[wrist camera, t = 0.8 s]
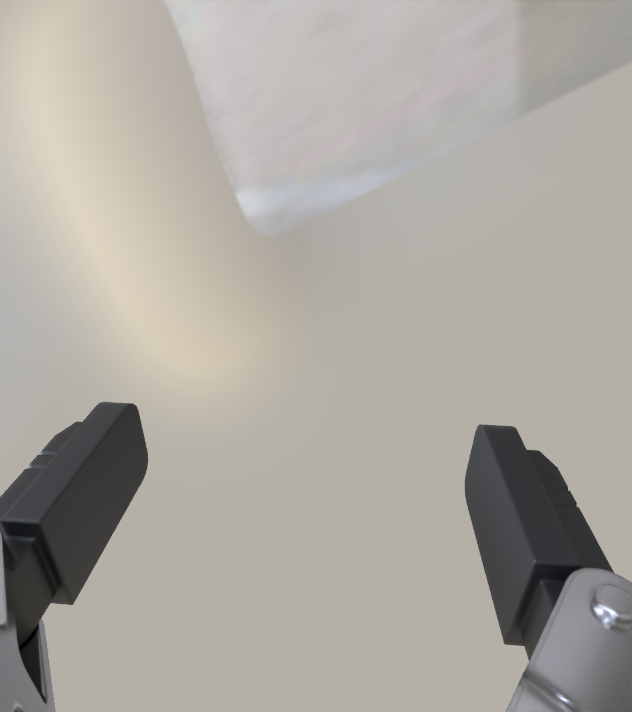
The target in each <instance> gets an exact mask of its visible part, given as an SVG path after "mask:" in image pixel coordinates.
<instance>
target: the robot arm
mask: <svg viewBox="0 0 632 712" xmlns="http://www.w3.org/2000/svg"><path fill="white" fill-rule="evenodd" d="M147 465H148V453H147V448H146V443H145V438H144V434H143V429H142V425H141V421H140V416H139V411H138V409H137V407H136V405H134V404H129V403H112V402H101V403H99V404H98V405H97V406H96V407H95V408H94V409H93V410H92V412H91V413H90V414H89V415H88V416H87V418H86V419H85V420H84V421H83V422H75V423H74V424H72V425H71V426H69V427H68V428H66V429H65V430H63V431H62V432H60V433H58V434H57V435H55V437H54V438H53V439H52V440H51V441H50V442H49V443H48V444H47V445H46V447H45V448H44V449H43V450H42V451H41V455H38V456H37V457H36V458H35V459H34V460H33V461H32V462H31V463H30V464H29V468H28V469H25V470H24V471H23V472H22V473H21V475H20V476H19V477H18V478H17V479H16V480H15V481H14V482H13V484H12V485H11V486H10V487H9V488H8V489H7V490H6V491H5V492H4V494H3V495H2V496H1V497H0V712H56V711H55V704H54V697H53V690H52V682H51V674H50V666H49V658H48V650H47V642H46V635H45V627H44V623H43V620H42V616H43V614H44V613H45V611H46V609H47V608H48V606H49V605H50V603H57V604H69V605H73V604H74V602H75V600H76V598H77V597H78V595H79V593H80V591H81V589H82V588H83V586H84V584H85V582H86V581H87V579H88V577H89V575H90V573H91V572H92V570H93V568H94V566H95V565H96V563H97V561H98V559H99V557H100V556H101V554H102V552H103V550H104V548H105V547H106V545H107V543H108V541H109V539H110V538H111V536H112V534H113V532H114V531H115V529H116V527H117V525H118V524H119V522H120V520H121V518H122V516H123V515H124V513H125V511H126V509H127V508H128V506H129V504H130V502H131V500H132V499H133V497H134V495H135V493H136V491H137V490H138V488H139V486H140V484H141V483H142V481H143V479H144V476H145V474H146V470H147ZM465 497H466V502H467V506H468V510H469V514H470V517H471V521H472V525H473V529H474V532H475V536H476V539H477V544H478V547H479V551H480V554H481V559H482V562H483V566H484V569H485V573H486V577H487V581H488V585H489V588H490V592H491V596H492V600H493V603H494V607H495V611H496V615H497V618H498V622H499V626H500V629H501V633H502V637H503V641H504V644H507V645H520V646H525V649H526V652H527V656H528V659H529V663H528V665H527V667H526V669H525V671H524V673H523V675H522V677H521V679H520V682H519V684H518V686H517V688H516V690H515V692H514V694H513V697H512V699H511V701H510V703H509V705H508V707H507V710H506V712H632V582H630V581H629V580H627V579H625V578H623V577H622V576H620V575H617V574H615V573H614V572H613V570H612V568H611V566H610V565H609V563H608V561H607V559H606V557H605V555H604V553H603V551H602V550H601V548H600V546H599V544H598V542H597V540H596V538H595V537H594V535H593V533H592V531H591V529H590V527H589V525H588V524H587V522H586V520H585V518H584V516H583V514H582V512H581V511H580V509H579V508H578V507H577V506H576V501H575V500H574V498H573V496H572V494H571V492H570V491H568V487H567V485H566V483H565V481H564V479H563V477H562V475H561V473H560V471H559V470H558V468H557V467H556V466H555V465H554V464H553V463H552V462H551V461H550V460H549V459H547V458H546V457H545V456H544V455H543V454H542V453H541V452H540V451H536V450H526V448H525V446H524V444H523V442H522V439H521V437H520V435H519V434H518V431H517V429H516V428H515V427H512V426H496V425H479V426H478V427H477V429H476V432H475V436H474V441H473V446H472V449H471V454H470V459H469V463H468V467H467V471H466V476H465Z"/></svg>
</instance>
